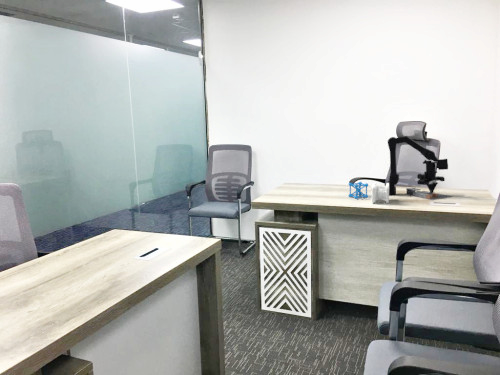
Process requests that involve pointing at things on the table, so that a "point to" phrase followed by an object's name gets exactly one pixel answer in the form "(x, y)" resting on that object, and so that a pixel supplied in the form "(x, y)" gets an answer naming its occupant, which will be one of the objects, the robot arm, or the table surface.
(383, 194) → the cable organizer
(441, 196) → the desk mat
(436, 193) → the tong arm
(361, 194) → the molecular structure
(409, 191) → the tong base
